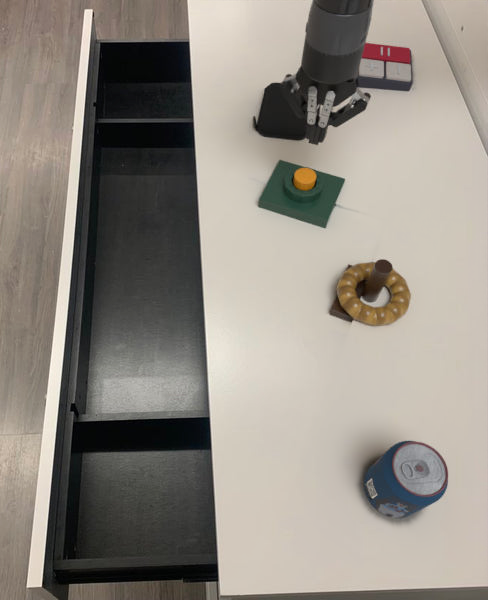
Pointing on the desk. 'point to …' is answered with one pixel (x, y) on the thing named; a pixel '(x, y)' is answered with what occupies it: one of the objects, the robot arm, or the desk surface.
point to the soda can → (406, 479)
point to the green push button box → (301, 195)
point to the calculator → (385, 68)
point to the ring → (366, 312)
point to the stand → (366, 288)
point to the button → (304, 179)
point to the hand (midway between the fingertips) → (314, 140)
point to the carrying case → (279, 116)
